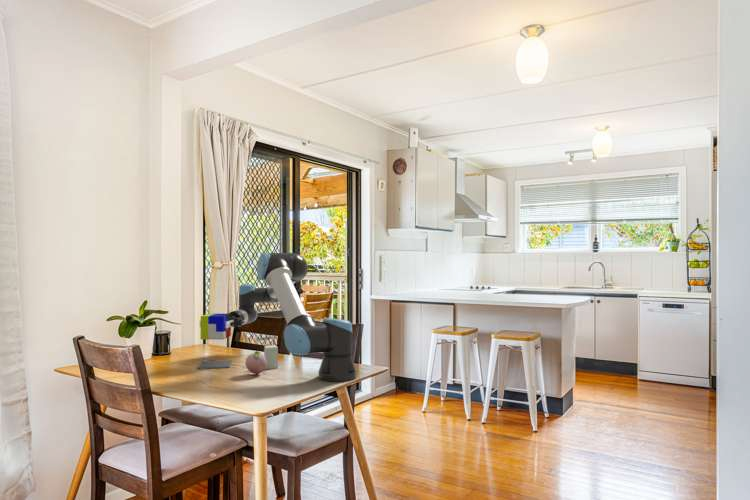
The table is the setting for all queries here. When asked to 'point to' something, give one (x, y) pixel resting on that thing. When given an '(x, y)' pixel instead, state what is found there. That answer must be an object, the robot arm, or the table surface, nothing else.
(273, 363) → the sage block
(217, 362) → the mat
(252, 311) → the robot arm
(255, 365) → the decorative fruit
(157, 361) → the table surface
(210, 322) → the puzzle toy
